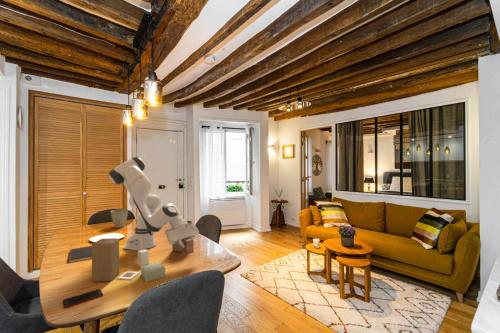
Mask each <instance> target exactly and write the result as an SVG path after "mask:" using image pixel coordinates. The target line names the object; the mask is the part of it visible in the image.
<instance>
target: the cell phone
mask: <svg viewBox="0 0 500 333" xmlns="http://www.w3.org/2000/svg"><path fill="white" fill-rule="evenodd" d="M103 296H104V292H103V291H102V289H101V288H99V289H94V290H91V291H88V292H84V293H81V294H77V295H75V296H70V297H67V298H64V299H63V300H62V306H63V309H68V308H71V307H75V306H78V305H80V304H83V303H88V302H89V301H93V300H97V299H100V298H102V297H103Z"/></svg>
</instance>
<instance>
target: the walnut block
mask: <svg viewBox="0 0 500 333" xmlns="http://www.w3.org/2000/svg"><path fill="white" fill-rule="evenodd" d="M193 241H194V238H193V239H191V238H186V239H183V243H185V245H186V246H185V247H184V248H183V252H182V253H183V254H184V255H190V254H192V253H194V244H193Z"/></svg>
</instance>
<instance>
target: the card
mask: <svg viewBox="0 0 500 333" xmlns="http://www.w3.org/2000/svg"><path fill="white" fill-rule="evenodd" d="M139 274H141V271H130V270H128V271H124V272H123V273H121V275H119V276H117V278H116V280H127V281H128V280H129V281H131V280H133V279H134V278H136V277H137V276H138V275H139Z"/></svg>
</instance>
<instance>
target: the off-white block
mask: <svg viewBox="0 0 500 333" xmlns="http://www.w3.org/2000/svg"><path fill="white" fill-rule="evenodd" d="M149 254H150V253H149V250H148V249H143V250H137V265H139V266H140V265H141V266H145V265H149V264H150V263H149V262H150V260H149V256H150V255H149ZM141 266H140V267H141Z"/></svg>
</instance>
